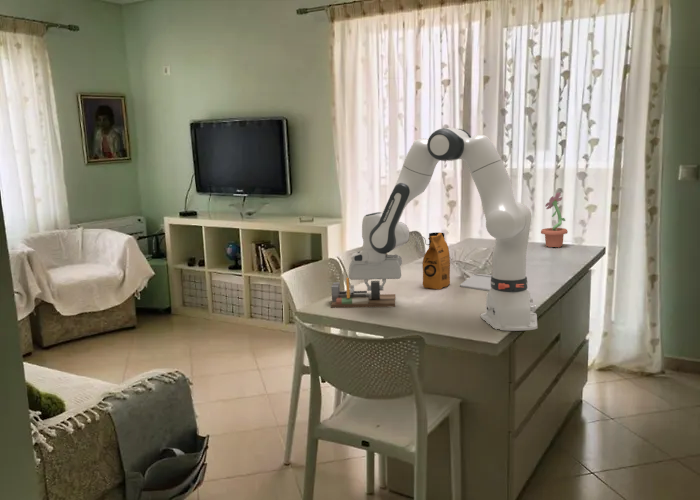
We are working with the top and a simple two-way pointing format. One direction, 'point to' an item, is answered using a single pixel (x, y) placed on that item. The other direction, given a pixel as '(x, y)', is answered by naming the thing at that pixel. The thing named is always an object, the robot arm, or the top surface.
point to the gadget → (478, 282)
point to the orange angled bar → (348, 288)
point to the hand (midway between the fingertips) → (375, 290)
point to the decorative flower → (555, 234)
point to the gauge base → (372, 302)
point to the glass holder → (429, 240)
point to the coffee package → (436, 264)
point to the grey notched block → (374, 290)
